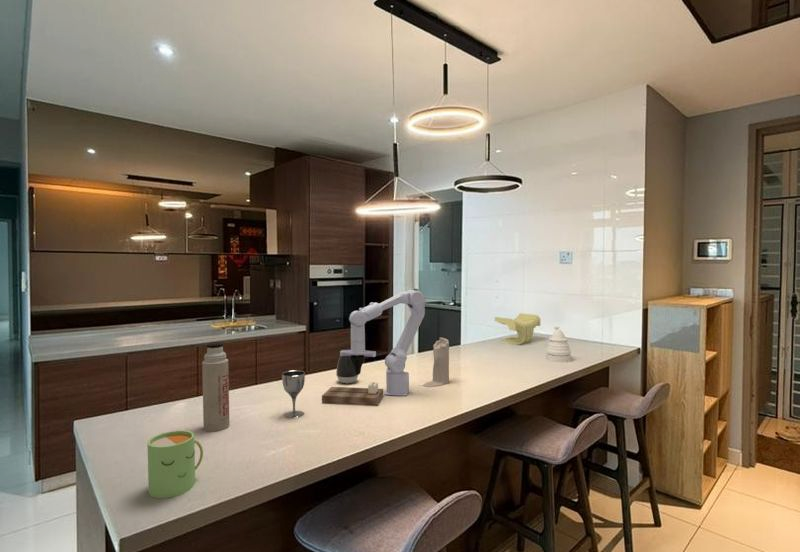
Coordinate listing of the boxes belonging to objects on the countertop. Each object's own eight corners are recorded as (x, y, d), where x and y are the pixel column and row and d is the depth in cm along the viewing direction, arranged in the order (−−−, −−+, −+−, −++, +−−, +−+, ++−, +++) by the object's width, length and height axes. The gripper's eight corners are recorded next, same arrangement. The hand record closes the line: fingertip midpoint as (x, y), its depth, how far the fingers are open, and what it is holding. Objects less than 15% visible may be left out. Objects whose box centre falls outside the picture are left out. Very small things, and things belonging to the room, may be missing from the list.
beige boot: (419, 384, 192) (419, 340, 191) (440, 379, 201) (440, 336, 200) (430, 388, 186) (430, 342, 186) (452, 382, 196) (452, 338, 195)
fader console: (383, 396, 176) (383, 388, 176) (377, 405, 164) (377, 397, 164) (331, 393, 179) (331, 386, 179) (322, 403, 168) (321, 395, 167)
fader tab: (378, 390, 172) (377, 382, 172) (375, 393, 168) (375, 385, 168) (370, 390, 173) (370, 382, 173) (368, 393, 169) (368, 385, 169)
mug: (158, 503, 98) (157, 451, 98) (142, 487, 105) (141, 439, 105) (212, 482, 108) (211, 434, 107) (195, 469, 115) (194, 424, 114)
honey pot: (542, 357, 245) (542, 326, 244) (563, 356, 246) (563, 325, 246) (552, 362, 232) (552, 329, 232) (575, 362, 234) (575, 328, 233)
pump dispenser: (355, 385, 191) (355, 351, 190) (333, 384, 193) (332, 351, 192) (362, 379, 201) (361, 347, 200) (340, 378, 203) (340, 346, 202)
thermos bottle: (234, 425, 145) (233, 343, 144) (213, 433, 139) (211, 347, 138) (219, 420, 150) (218, 340, 149) (198, 428, 143) (196, 344, 142)
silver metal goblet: (285, 419, 150) (284, 377, 150) (280, 412, 157) (279, 372, 157) (307, 415, 154) (307, 374, 153) (302, 409, 161) (301, 369, 160)
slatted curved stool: (515, 347, 275) (515, 319, 274) (494, 343, 287) (494, 316, 286) (540, 341, 295) (540, 315, 294) (520, 338, 307) (520, 313, 306)
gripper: (377, 339, 178) (377, 371, 178) (343, 338, 180) (343, 370, 180) (373, 342, 171) (374, 376, 171) (338, 341, 173) (338, 375, 173)
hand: (358, 373), depth 175 cm, fingers closed
